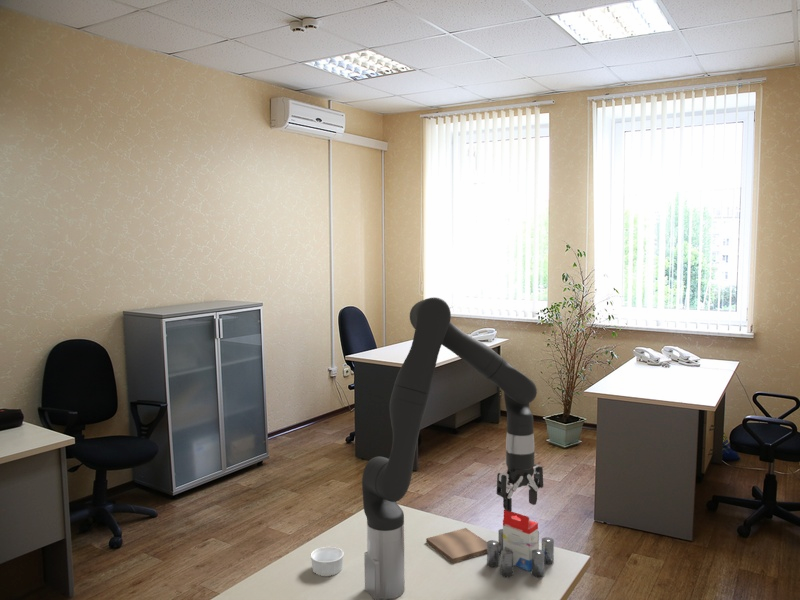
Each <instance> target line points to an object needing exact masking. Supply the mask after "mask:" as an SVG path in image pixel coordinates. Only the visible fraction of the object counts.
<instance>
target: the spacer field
mask: <svg viewBox="0 0 800 600" xmlns="http://www.w3.org/2000/svg"><path fill="white" fill-rule="evenodd" d="M497 534H498V535H497V536H498V540H495V539H491V540H488V541H486V542H487V553H486V565H487V567H489V568H498V567H499V565H500V576H502V578H508V579H509V578H513V576H514V565H513V551H511V550H508V549H504V550H503V528H500V529H499V530H498V533H497ZM539 537H540V532H539V530H538V549H535V550H532V569H531V576H532V577H535V578H538V579H541V578H543V577H545V565H553V564H554V561H555V560H554V559H555V558H554V557H555V555H554V553H555V551H554V550H555V541H554V539H553V538H552V537H547V536H546V537H542V538H541V549H539V547H540V541H539V540H540V538H539ZM545 563H546V564H545ZM552 563H553V564H552Z"/></svg>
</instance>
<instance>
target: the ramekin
mask: <svg viewBox="0 0 800 600" xmlns="http://www.w3.org/2000/svg"><path fill="white" fill-rule="evenodd" d="M344 555H345V553H344V550H342V548H339V547H335V546H322V547H318V548H316V549H314V550H313V551H312V552H311V553H310V559H311V569H312V571H313V573H314V574H315V573H316V574H315V575H317V574H318V575H317V576H320V575H321V576H320V577H332V576H336V575H337V574H339V573H340V572H341V571H342V569H343V561H344ZM331 575H332V576H331Z"/></svg>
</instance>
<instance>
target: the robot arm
mask: <svg viewBox="0 0 800 600" xmlns="http://www.w3.org/2000/svg"><path fill="white" fill-rule="evenodd" d="M449 306H450V305H449V304H448V303H447V302H446V301H445V299H442V298H440V297H434V296H433V297H429V298H425V299H423V300H420V301H418V302H416V303H415V304H414V305H413V306H412V307H411V308H410V312H409V321H410V324H411V326H412V328H413V329H414V334H413V339H412V344H411V347H410V349H409V352H408V354H407V356H406V357H405V358H404V361H403V363H402V365H401V367H400V369H399V371H398V373H397V376H396V379H395V381H394V385H393V389H392V391H391V395H390V400H389V403H388V404H389V405H388V407H389V408H388V409H389V417H390V423H391V430H392V445H391V450H390V455H389V457H388V458H387V457H384V456H375V457H372V458H371V459H369V461H368V462H366V464H365V467H364V469H363V473H362V477H361V478H362V479H361V483H362V484H361V487H362V489H361V491H362V505H363V512H364V514H365V517H366V536H367V539H366V540H367V541H366V542H367V545H366V546H367V548H366V549H367V550H366V551H365V552H364V557H363V559H364V589H365V591H366V592H367V593H368V594H369V595H370V596H371V597H372V598H373V599H374V600H392V599H396V598H398V597H400V596H402V595H403V594H404V592H405V585H406V583H405V582H406V581H405V580H406V579H405V514H404V510H403V509H402V508H401V507H400V505H399V504H398V503H397V502H398V501H401V500H402V499H403V498H404V496H405V495H406V494H407V492H408V490H409V487H410V484H411V482H412V481H411V480H412V477H413V476H412V475H413V469H414V462H415V456H416V450H417V444H418V439H419V435H420V431H421V426H422V423H423V422H422V421H423V419H424V415H425V413H426V409H427V404H428V401H429V397H430V395H431V393H430V392H431V387H432V383H433V379H434V375H435V371H436V366H437V363H438V359H439V353H440V351H441V348H442V346H443V347H445V348H446V349H447V350H449V351H451V352H452V353H453V354H455V355H456V356H457V357H459V358H460V359H461V360H463V362H465V363H467V364H468V365H469V366H470V367H471V368H473V369H474V370H475V371H476V372H477V373H478V374H480V375H481V376H483V377H484V378H485V379H486V380H488V381H490V382H491V383H493V384H494V385H496V386H497V387H498V388H499V389H500V390H501V391H503V397H504V398H503V399H504V404H505V409H506V436H505V465H506V467H507V470H506V473H501V472H497V475H496V495H497V496H499V497H501V498H502V499H503V500H502V501H503V502H502V505H503V510H504V509H505V510H506V511H508V512H511V511H512V512H513V510H512V509H513V507H512V506H513V505H512V504H513V503H512V501H513V500H512V496H513V494H514V493H515V492H516V491H517V490H518V489H519V488H521V487H528V488H529V489H528V502H529V504H530V505H532V506H535V505H537V501H538V491H539V489H540V488H541V489H543V488H544V472H543V470H544V469H543V466H540V465H539V464H535V437H534V436H535V435H534V415H533V412H532V411H531V408H530V403H532V402H533V401H534V400H535V399H536V397H537V393H538V391H537V386H536V384H535V383H534V381H533V380H532V379H530V378H529V377H528V376H526V375H525V373H523V372H521V371H520V370H518V369H517V368H515V367H514V366H513V365H511V364H510V363H509V362H508V361H507V360H506V359H505V358H504V357H502V356H501V355H500V354H498V353H497V352H496V351H495V350H494V349H492V348H491V346H488V345H486V344H485V343H484V342H482V341H480V340H478V339H476V338H475V337H473V336H471V335H469V334H468V333H466V332H465V331H463V330H461V329H460V328H459V327H457V326H456V324H454V323H453V322H451V319H452V314H451V308H450V307H449ZM511 485H512V486H511Z"/></svg>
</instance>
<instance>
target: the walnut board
mask: <svg viewBox="0 0 800 600" xmlns="http://www.w3.org/2000/svg"><path fill="white" fill-rule="evenodd" d="M425 541H426V542H425V543H426V544H428V545H429V546H430V547H432V548H433V549H434V550H435V551H437V552H438V553H439V554H441V555H442V556H443V557H445V558H446V559H447V560H448V561H449V562H450V563H452V564H455V563H459V562H460V561H461V562H463V561H465V560H467V559H468V560H469V559H471V558H475V557H478V556H482V555H485V554H487V542H488V541H486V540H485V539H484V538H482V537H481V536H478V535H477V534H475V533H474V532H473V531H471V530H469V529H468V528H466V527H464V528H460V529H456V530H453V531H452V530H451V531H449V532H445V533H442V534H441V533H440V534H438V535H437V534H436V535H433V536H430V537H427V538H425Z"/></svg>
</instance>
